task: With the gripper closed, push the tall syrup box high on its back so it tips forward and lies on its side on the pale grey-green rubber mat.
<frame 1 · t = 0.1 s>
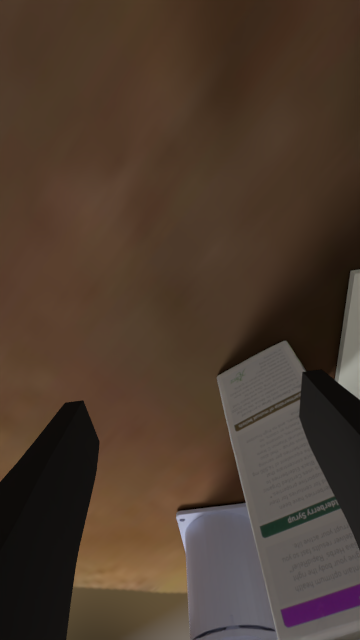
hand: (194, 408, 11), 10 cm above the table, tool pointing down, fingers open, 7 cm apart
syrup box: (266, 379, 24), on the table
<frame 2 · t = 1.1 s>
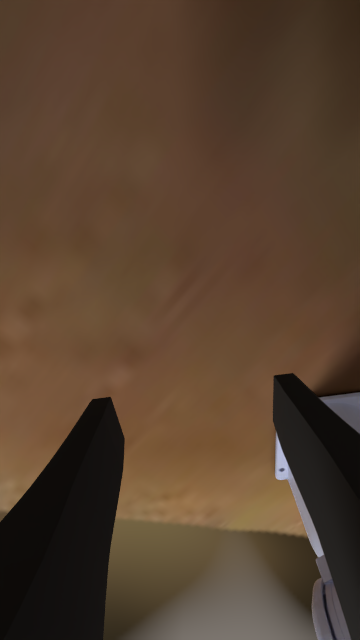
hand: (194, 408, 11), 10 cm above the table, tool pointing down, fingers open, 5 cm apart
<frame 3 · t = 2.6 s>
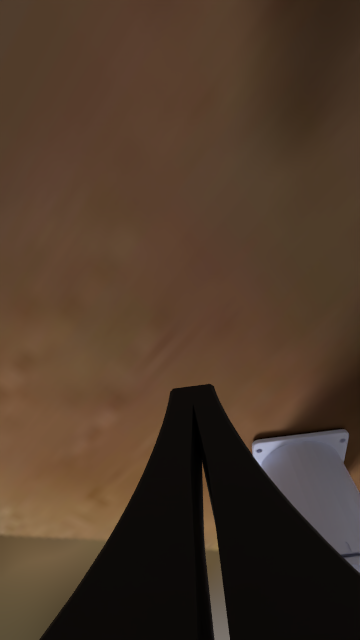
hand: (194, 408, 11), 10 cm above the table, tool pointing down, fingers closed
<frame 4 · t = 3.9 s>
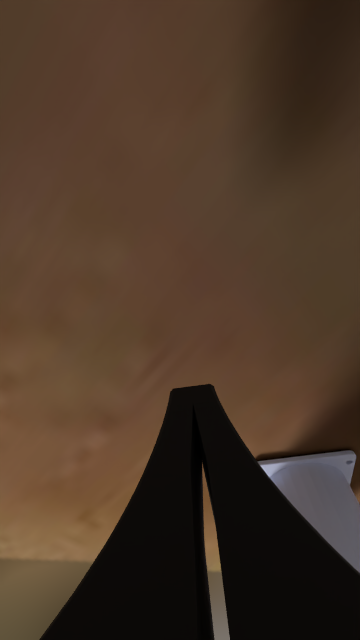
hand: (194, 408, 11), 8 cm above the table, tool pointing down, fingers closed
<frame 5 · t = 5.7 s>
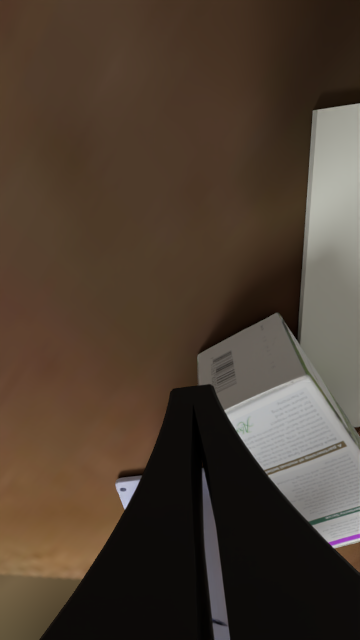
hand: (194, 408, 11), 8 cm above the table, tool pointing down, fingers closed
syrup box: (240, 358, 16), point 3 cm above the table, touching mat
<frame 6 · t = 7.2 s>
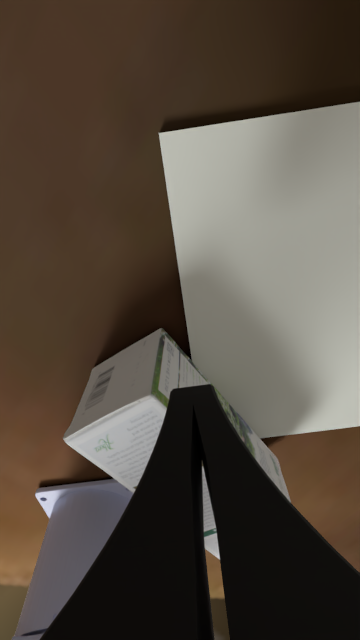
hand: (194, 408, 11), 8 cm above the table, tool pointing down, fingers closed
mat: (323, 308, 19), on the table
syrup box: (113, 374, 17), point 3 cm above the table, touching mat
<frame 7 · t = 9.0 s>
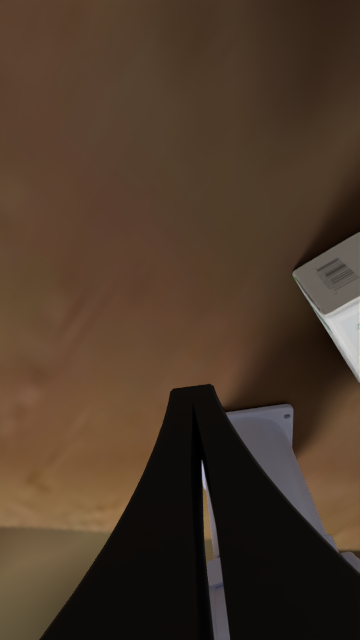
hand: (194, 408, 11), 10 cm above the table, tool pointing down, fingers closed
syrup box: (355, 257, 16), point 3 cm above the table, touching mat
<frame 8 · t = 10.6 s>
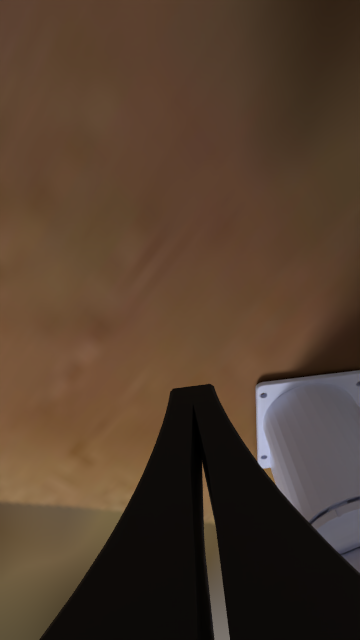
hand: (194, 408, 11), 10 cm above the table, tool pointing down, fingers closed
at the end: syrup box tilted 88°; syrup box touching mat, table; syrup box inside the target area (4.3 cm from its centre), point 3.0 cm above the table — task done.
